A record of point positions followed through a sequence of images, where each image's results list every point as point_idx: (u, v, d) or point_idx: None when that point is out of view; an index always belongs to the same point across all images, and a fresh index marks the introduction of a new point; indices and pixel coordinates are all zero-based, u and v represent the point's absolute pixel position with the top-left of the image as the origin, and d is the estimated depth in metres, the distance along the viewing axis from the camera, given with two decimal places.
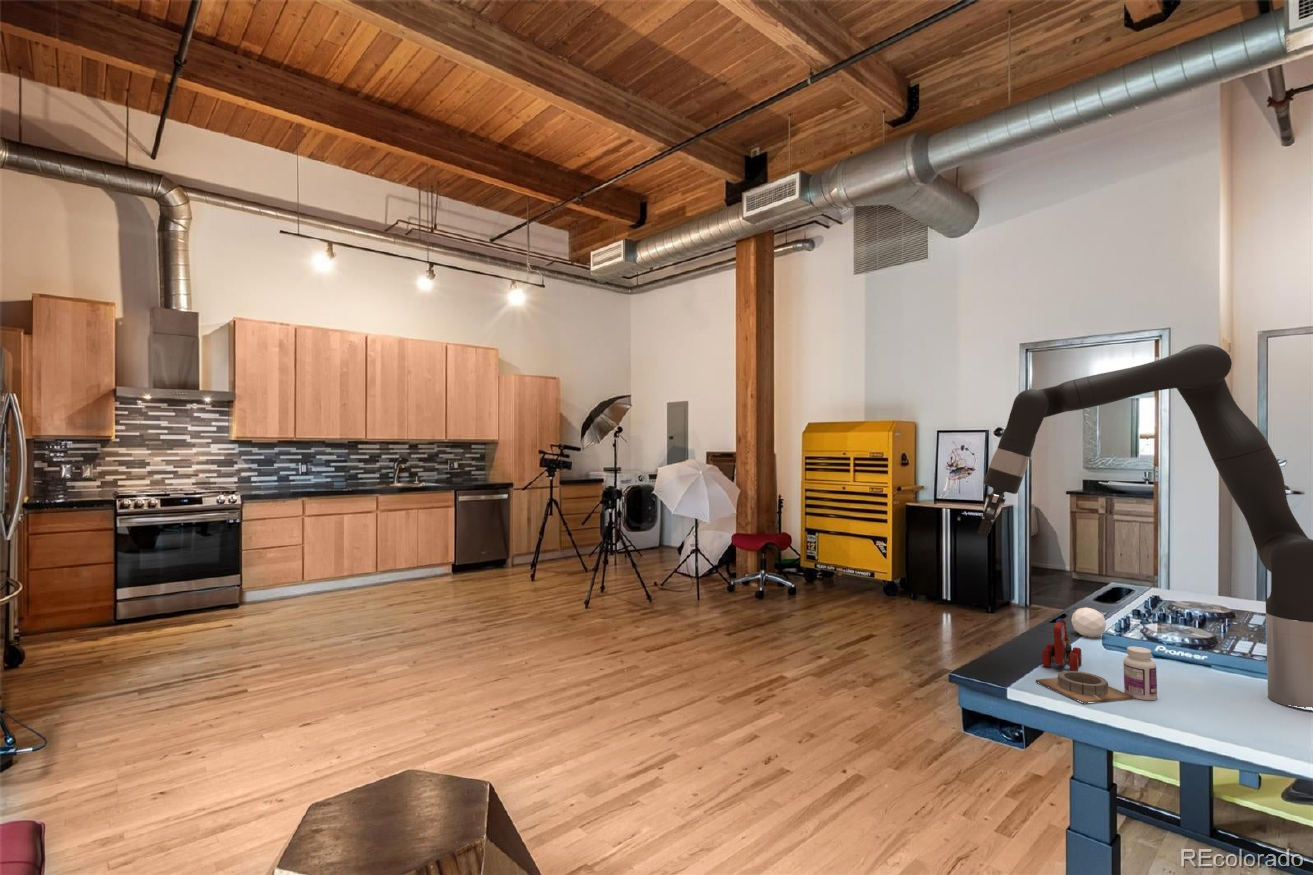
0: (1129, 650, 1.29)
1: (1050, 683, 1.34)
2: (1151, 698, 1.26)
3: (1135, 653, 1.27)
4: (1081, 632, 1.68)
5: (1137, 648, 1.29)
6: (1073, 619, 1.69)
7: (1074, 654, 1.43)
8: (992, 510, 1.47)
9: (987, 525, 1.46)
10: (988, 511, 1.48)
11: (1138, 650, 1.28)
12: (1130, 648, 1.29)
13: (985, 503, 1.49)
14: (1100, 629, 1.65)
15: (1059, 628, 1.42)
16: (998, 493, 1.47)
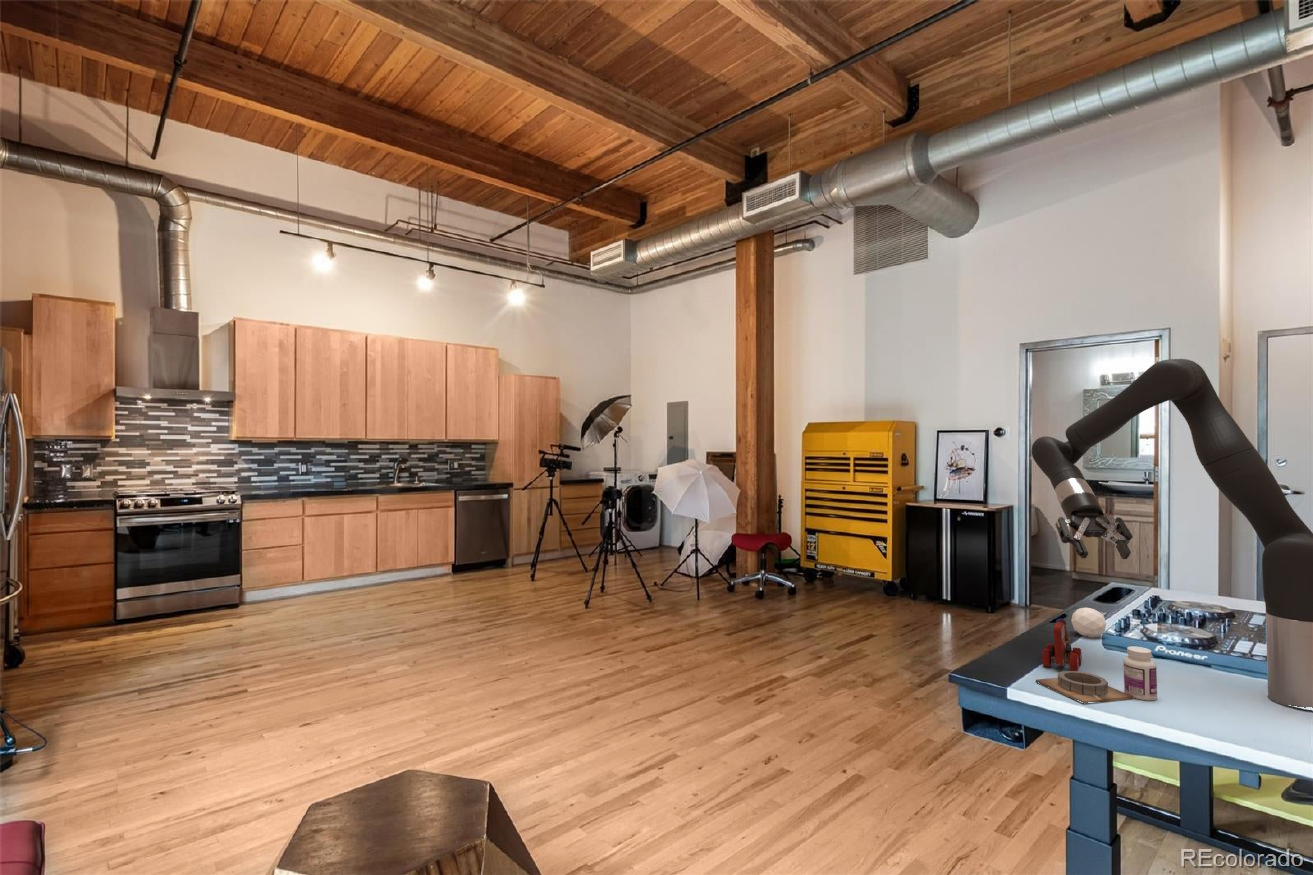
0: (1129, 650, 1.29)
1: (1050, 683, 1.34)
2: (1151, 698, 1.26)
3: (1135, 653, 1.27)
4: (1081, 632, 1.68)
5: (1137, 648, 1.29)
6: (1073, 619, 1.69)
7: (1074, 654, 1.43)
8: (1076, 533, 1.45)
9: (1076, 545, 1.43)
10: None
11: (1138, 650, 1.28)
12: (1130, 648, 1.29)
13: None
14: (1100, 629, 1.65)
15: (1059, 628, 1.42)
16: (1070, 518, 1.48)
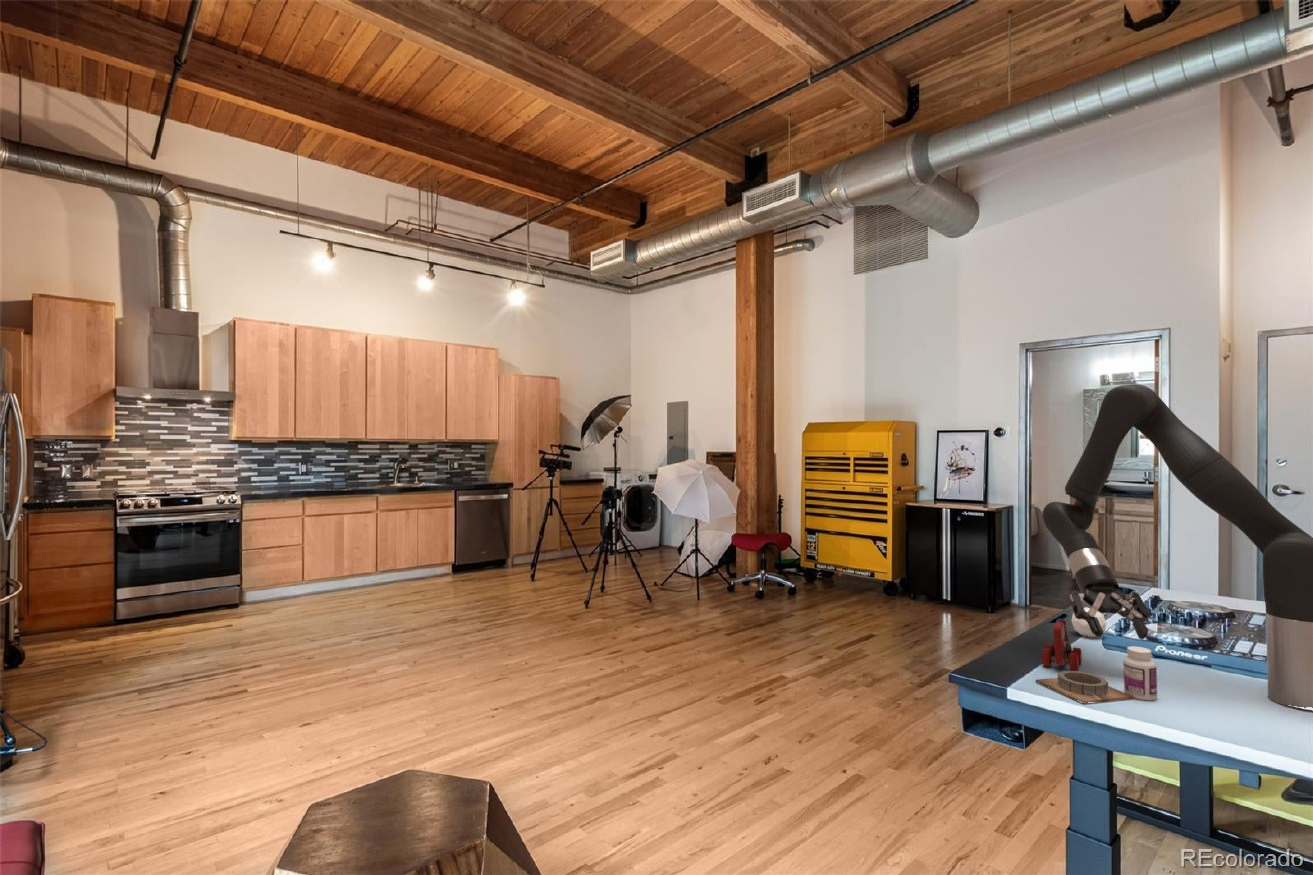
0: (1129, 650, 1.29)
1: (1050, 683, 1.34)
2: (1151, 698, 1.26)
3: (1135, 653, 1.27)
4: (1081, 632, 1.68)
5: (1137, 648, 1.29)
6: (1073, 619, 1.69)
7: (1074, 654, 1.43)
8: (1090, 608, 1.40)
9: (1090, 622, 1.37)
10: None
11: (1138, 650, 1.28)
12: (1130, 648, 1.29)
13: (1089, 609, 1.42)
14: None
15: (1059, 628, 1.42)
16: (1084, 592, 1.43)
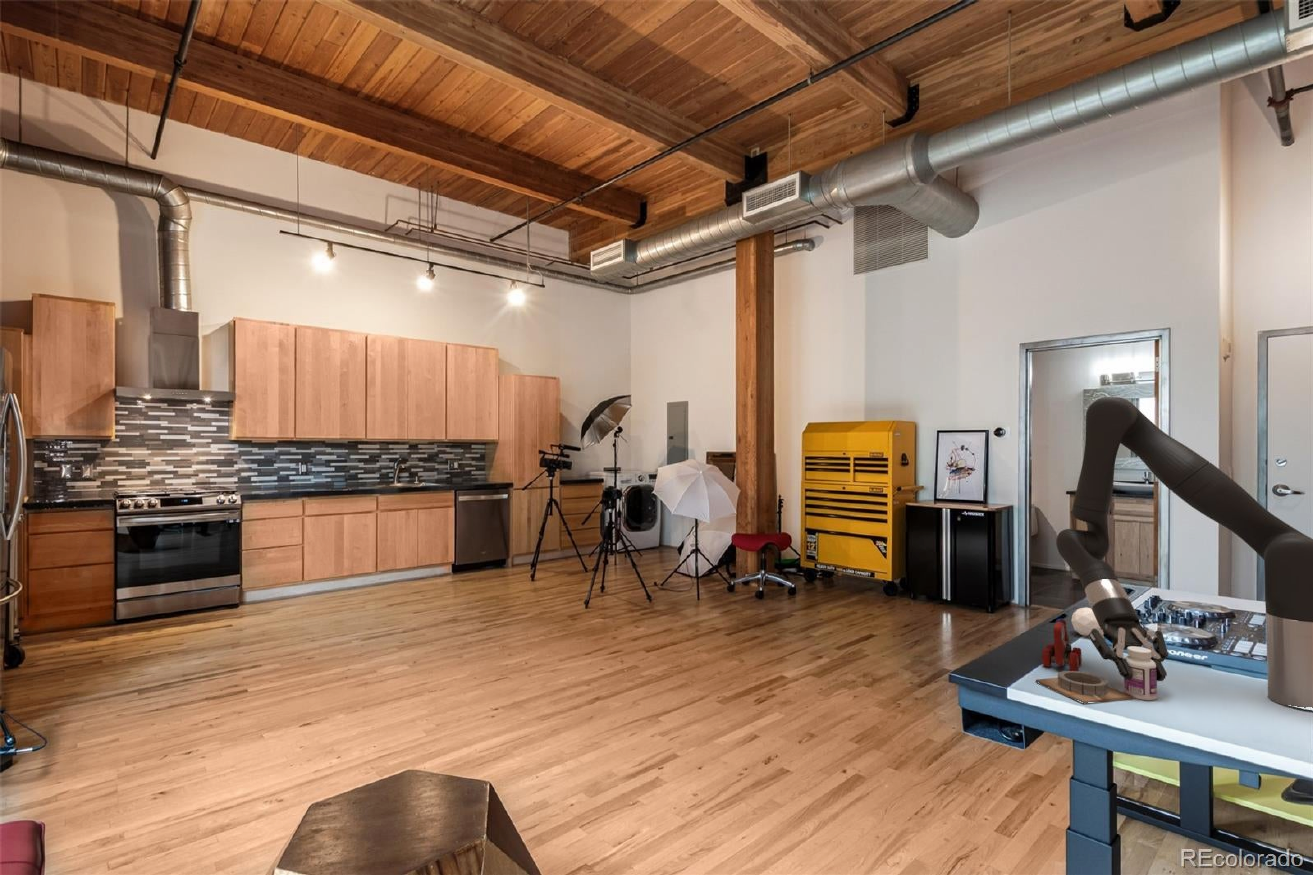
0: (1129, 650, 1.29)
1: (1050, 683, 1.34)
2: (1151, 698, 1.26)
3: (1135, 653, 1.27)
4: (1081, 632, 1.68)
5: (1137, 648, 1.29)
6: (1073, 619, 1.69)
7: (1074, 654, 1.43)
8: (1115, 647, 1.32)
9: (1118, 664, 1.29)
10: None
11: (1138, 650, 1.28)
12: (1130, 648, 1.29)
13: None
14: (1100, 629, 1.65)
15: (1059, 628, 1.42)
16: (1102, 626, 1.35)
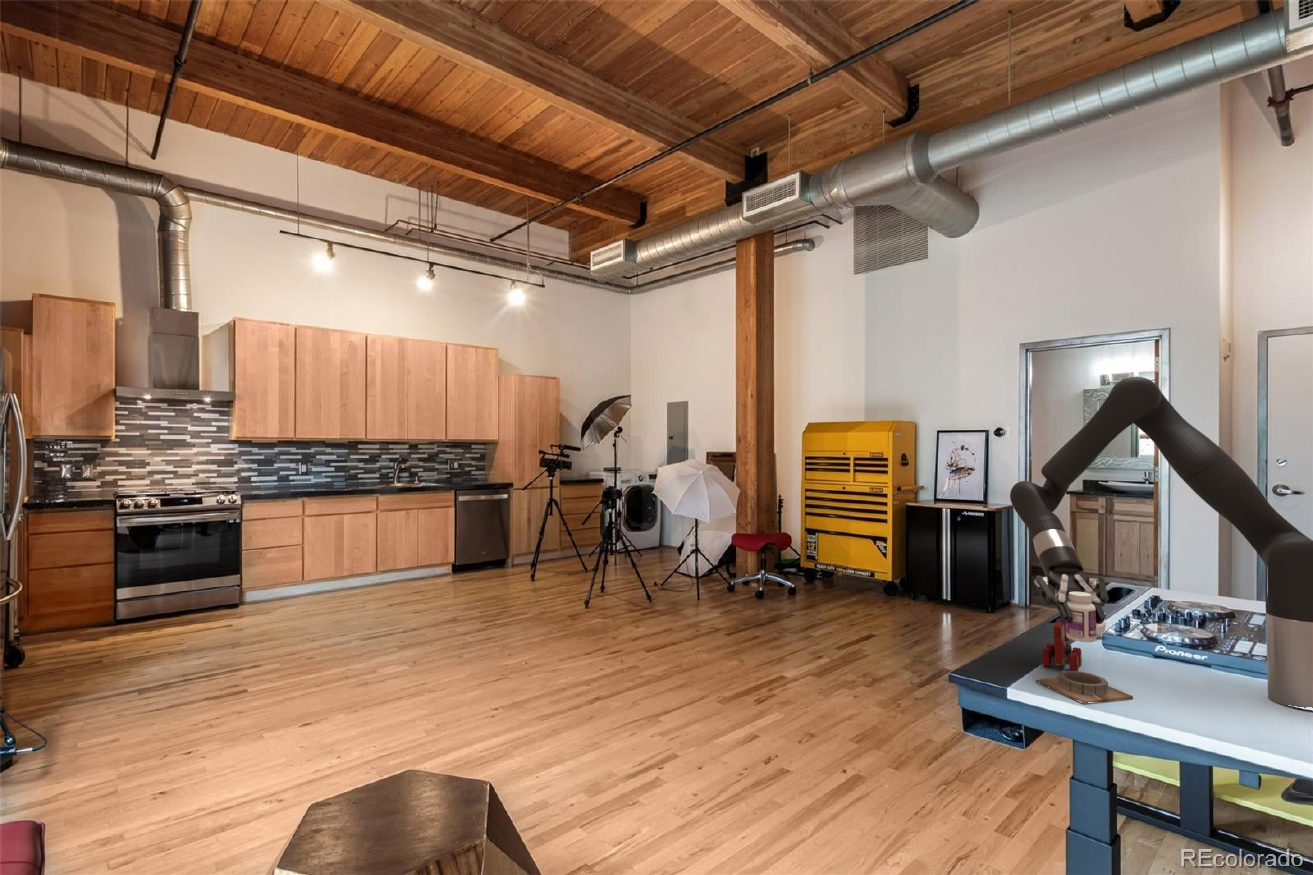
0: (1070, 594, 1.32)
1: (1050, 683, 1.34)
2: (1090, 640, 1.29)
3: (1076, 597, 1.31)
4: None
5: (1078, 592, 1.32)
6: None
7: (1074, 654, 1.43)
8: (1058, 593, 1.35)
9: (1060, 608, 1.32)
10: None
11: (1079, 594, 1.31)
12: (1071, 593, 1.33)
13: (1055, 593, 1.37)
14: (1100, 629, 1.65)
15: (1059, 628, 1.42)
16: (1047, 574, 1.39)
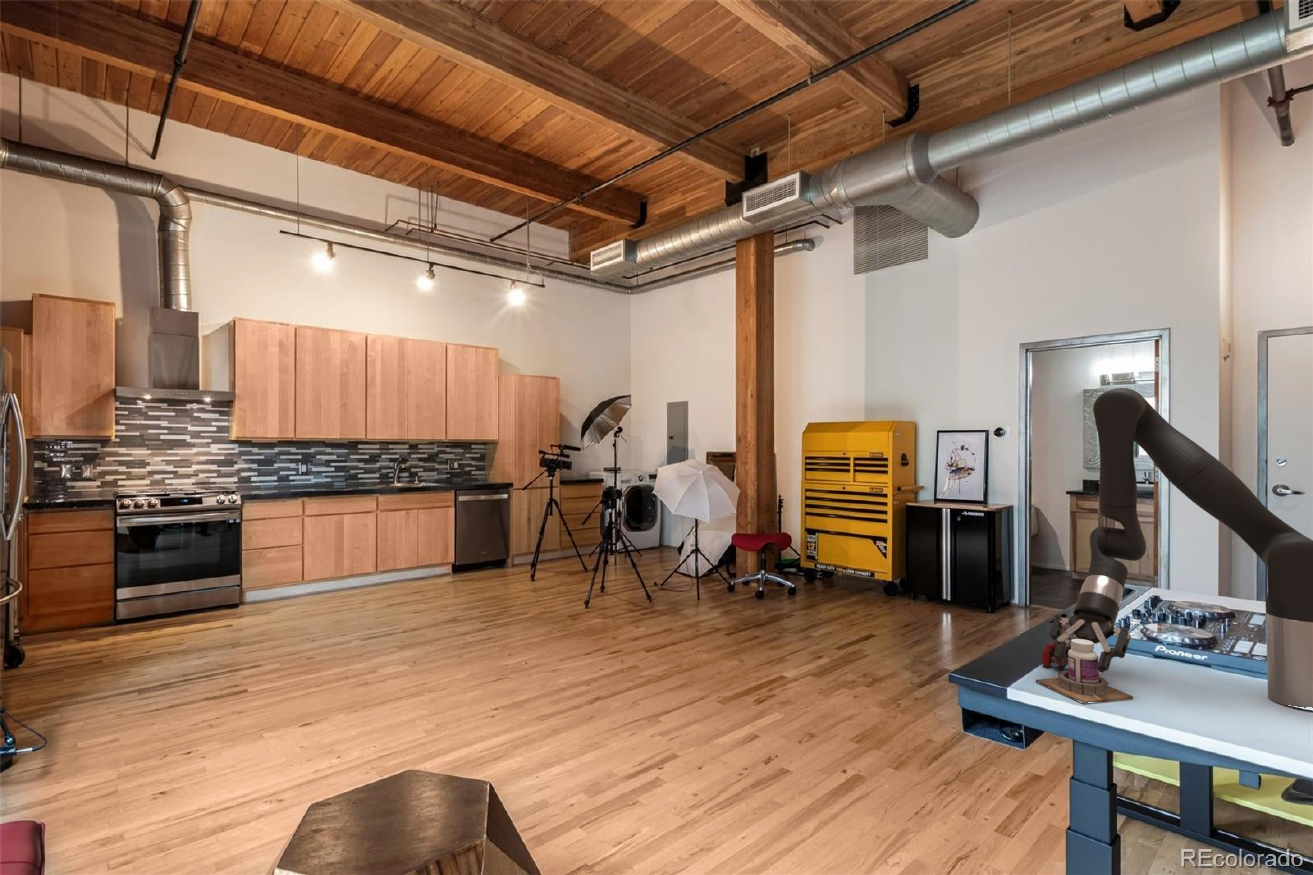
0: (1071, 640, 1.33)
1: (1050, 683, 1.34)
2: None
3: (1072, 643, 1.32)
4: None
5: (1082, 640, 1.32)
6: None
7: None
8: None
9: None
10: (1069, 638, 1.36)
11: (1077, 641, 1.32)
12: (1075, 639, 1.33)
13: None
14: None
15: None
16: None
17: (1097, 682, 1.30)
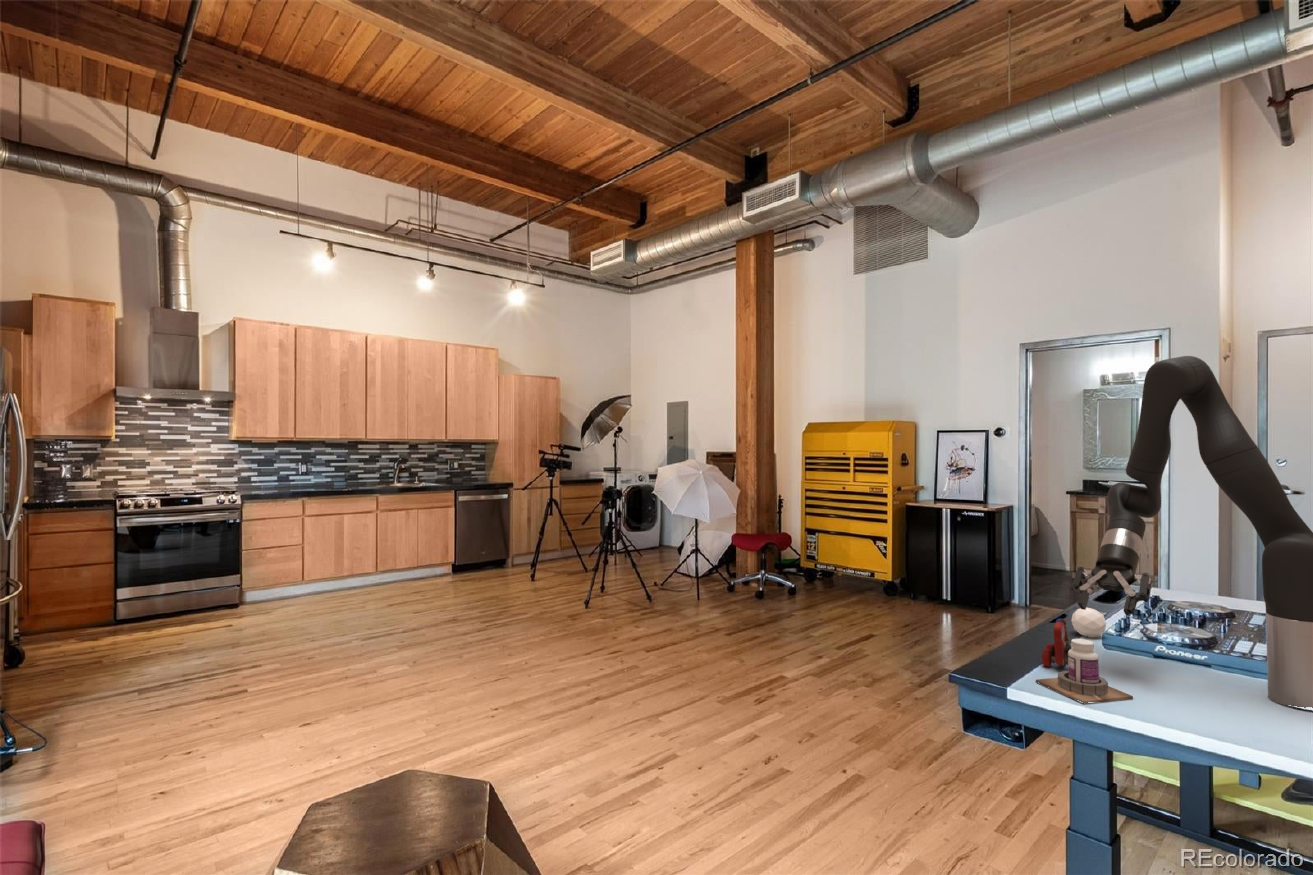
0: (1071, 640, 1.33)
1: (1050, 683, 1.34)
2: None
3: (1072, 643, 1.32)
4: (1081, 632, 1.68)
5: (1082, 640, 1.32)
6: (1073, 619, 1.69)
7: None
8: None
9: None
10: (1091, 588, 1.44)
11: (1077, 641, 1.32)
12: (1075, 639, 1.33)
13: None
14: (1100, 629, 1.65)
15: (1059, 628, 1.42)
16: None
17: (1097, 682, 1.30)
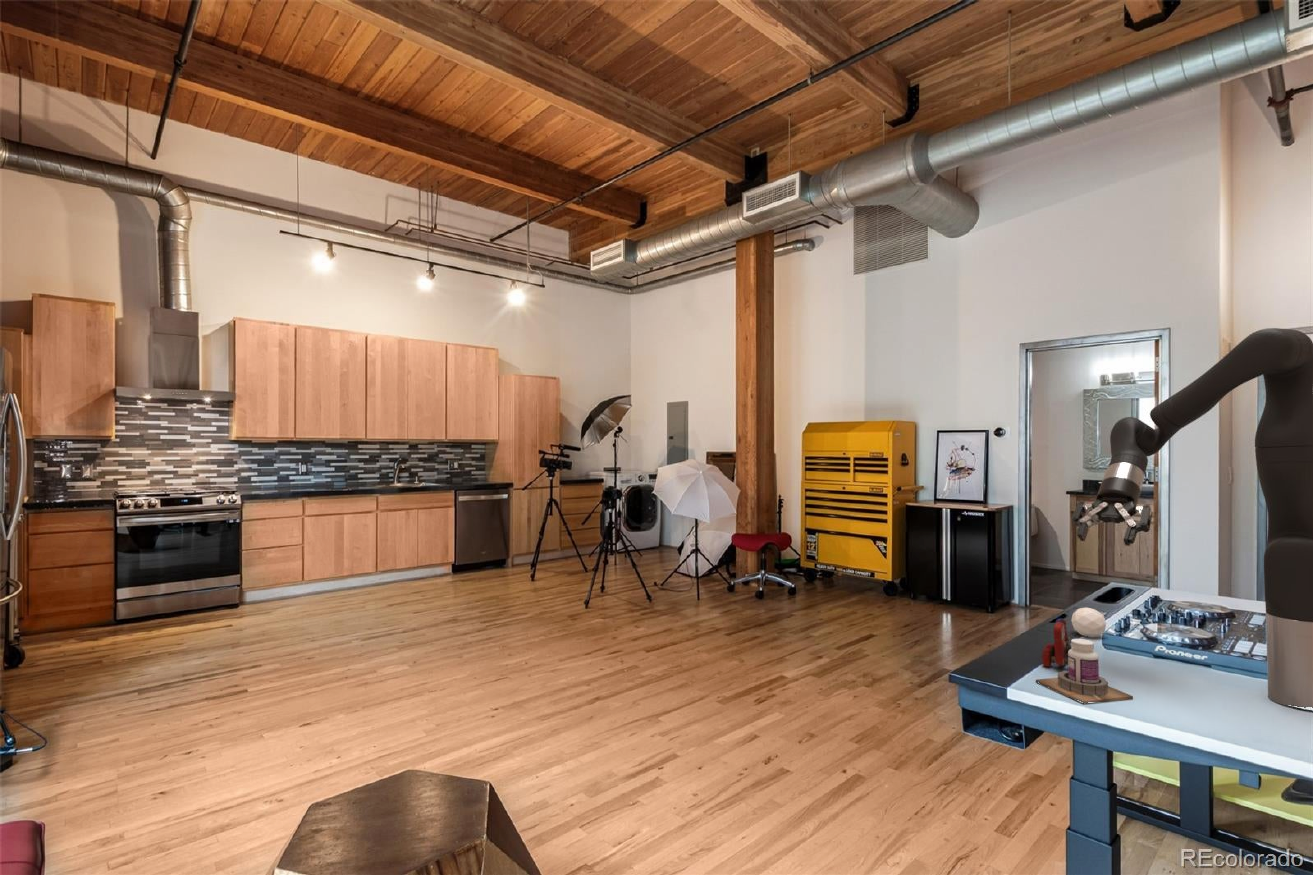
0: (1071, 640, 1.33)
1: (1050, 683, 1.34)
2: None
3: (1072, 643, 1.32)
4: (1081, 632, 1.68)
5: (1082, 640, 1.32)
6: (1073, 619, 1.69)
7: None
8: None
9: None
10: (1091, 520, 1.43)
11: (1077, 641, 1.32)
12: (1075, 639, 1.33)
13: None
14: (1100, 629, 1.65)
15: (1059, 628, 1.42)
16: None
17: (1097, 682, 1.30)
